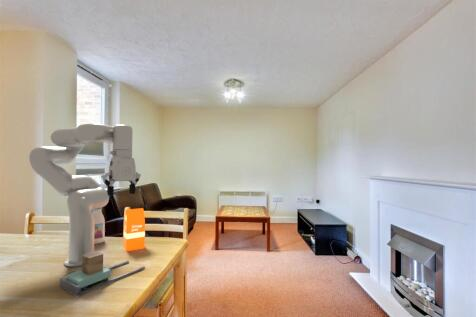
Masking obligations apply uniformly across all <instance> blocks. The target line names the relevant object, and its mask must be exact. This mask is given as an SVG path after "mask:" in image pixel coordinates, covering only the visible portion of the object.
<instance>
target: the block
mask: <svg viewBox="0 0 476 317" xmlns="http://www.w3.org/2000/svg"><path fill="white" fill-rule="evenodd" d="M103 267H104V253H101V252H99V251H95V250H94V252H92V253H88V254H85V255H82V266H81V270H82V272H83V273H85V274H87V275H91V274H94V273H97V272H100V271H102V270H103Z"/></svg>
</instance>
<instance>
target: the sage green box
mask: <svg viewBox="0 0 476 317" xmlns="http://www.w3.org/2000/svg"><path fill="white" fill-rule="evenodd" d="M107 268H108V267H106V266H103V270H102V271H100V272H97V273H94V274H91V275H87V274H85V273H83V272H82V269H80V270H76V271H74V272H71V273H69V274H66V275H65V277H66V278H67V279H69V280H71V281H73V282H75V283H77V284H78V285H80V286H81V291H82V290H85V289H87V287H88V286H89V285H92V284H96V283H97V282H101V283H102V282H105V281H107V280H109V278H110V277H111V274H112V273H111V271H112V269H111V270H110V269H107Z"/></svg>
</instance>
